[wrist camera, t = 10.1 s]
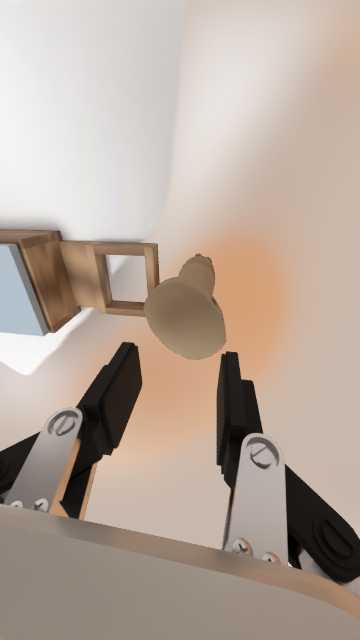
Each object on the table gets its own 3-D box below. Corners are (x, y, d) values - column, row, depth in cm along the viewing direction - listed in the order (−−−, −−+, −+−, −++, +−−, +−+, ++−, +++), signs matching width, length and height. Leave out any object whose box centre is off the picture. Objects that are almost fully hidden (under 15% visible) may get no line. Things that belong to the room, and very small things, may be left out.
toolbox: (-67, 228, 31) (-130, 235, 25) (156, 233, 26) (140, 242, 21) (-26, 302, 37) (-70, 321, 31) (161, 316, 32) (149, 341, 27)
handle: (199, 294, 30) (185, 368, 17) (170, 256, 28) (130, 307, 15) (229, 274, 28) (240, 341, 15) (200, 232, 26) (184, 267, 13)
